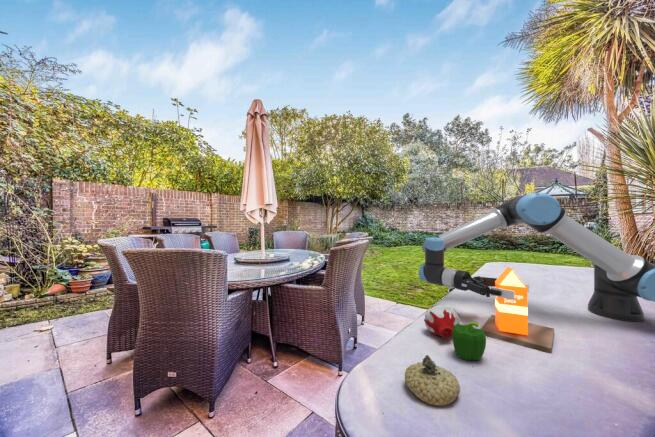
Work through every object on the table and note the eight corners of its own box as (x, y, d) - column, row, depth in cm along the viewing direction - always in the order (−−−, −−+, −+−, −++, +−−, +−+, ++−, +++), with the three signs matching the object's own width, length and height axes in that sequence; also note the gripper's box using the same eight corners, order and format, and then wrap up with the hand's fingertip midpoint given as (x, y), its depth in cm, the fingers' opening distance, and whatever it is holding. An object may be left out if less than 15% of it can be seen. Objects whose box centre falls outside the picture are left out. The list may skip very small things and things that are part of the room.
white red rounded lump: (453, 324, 93) (467, 351, 78) (420, 321, 95) (427, 347, 81) (455, 300, 92) (469, 323, 77) (421, 298, 94) (428, 319, 79)
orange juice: (521, 326, 89) (521, 267, 90) (528, 335, 81) (527, 270, 82) (494, 322, 92) (494, 265, 94) (498, 330, 84) (498, 268, 86)
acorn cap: (398, 374, 65) (398, 362, 58) (437, 357, 66) (442, 343, 59) (420, 421, 58) (423, 413, 51) (463, 401, 59) (472, 390, 52)
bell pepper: (444, 352, 75) (444, 317, 75) (464, 346, 78) (464, 313, 78) (471, 368, 67) (471, 329, 67) (492, 360, 71) (492, 324, 71)
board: (554, 333, 88) (554, 328, 88) (551, 353, 74) (551, 348, 74) (491, 318, 100) (491, 314, 100) (479, 334, 87) (480, 329, 87)
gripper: (471, 283, 110) (533, 296, 94) (440, 294, 95) (507, 311, 78) (471, 266, 110) (533, 275, 94) (440, 273, 95) (507, 286, 78)
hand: (521, 291), depth 86 cm, fingers open, 13 cm apart
